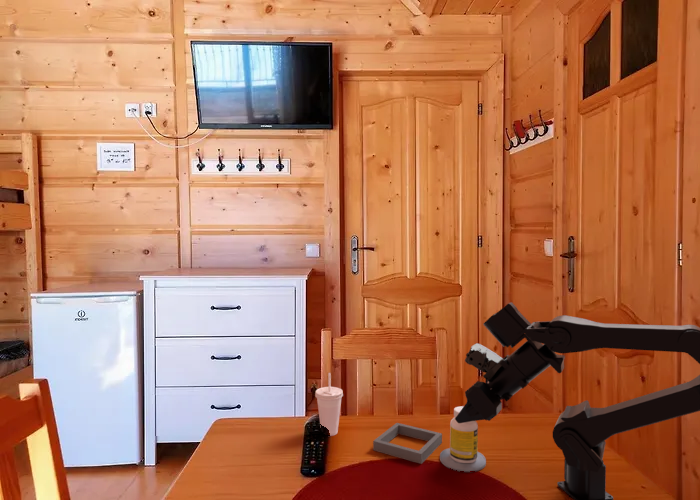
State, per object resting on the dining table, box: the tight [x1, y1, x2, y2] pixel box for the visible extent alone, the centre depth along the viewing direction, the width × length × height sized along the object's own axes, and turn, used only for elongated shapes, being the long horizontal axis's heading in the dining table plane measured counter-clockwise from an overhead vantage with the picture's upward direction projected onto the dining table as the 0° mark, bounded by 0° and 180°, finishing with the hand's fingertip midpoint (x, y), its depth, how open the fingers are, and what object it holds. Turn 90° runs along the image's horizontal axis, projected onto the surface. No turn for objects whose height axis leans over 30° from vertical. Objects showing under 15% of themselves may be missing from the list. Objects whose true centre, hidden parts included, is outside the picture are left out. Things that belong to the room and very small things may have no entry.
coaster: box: [439, 447, 487, 473], centre depth 93 cm, size 9×9×1 cm
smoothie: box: [314, 372, 344, 437], centre depth 106 cm, size 6×6×14 cm
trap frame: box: [372, 422, 443, 465], centre depth 99 cm, size 11×11×2 cm
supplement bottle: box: [449, 405, 479, 463], centre depth 92 cm, size 5×5×10 cm
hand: (464, 412), depth 92 cm, fingers open, 9 cm apart
